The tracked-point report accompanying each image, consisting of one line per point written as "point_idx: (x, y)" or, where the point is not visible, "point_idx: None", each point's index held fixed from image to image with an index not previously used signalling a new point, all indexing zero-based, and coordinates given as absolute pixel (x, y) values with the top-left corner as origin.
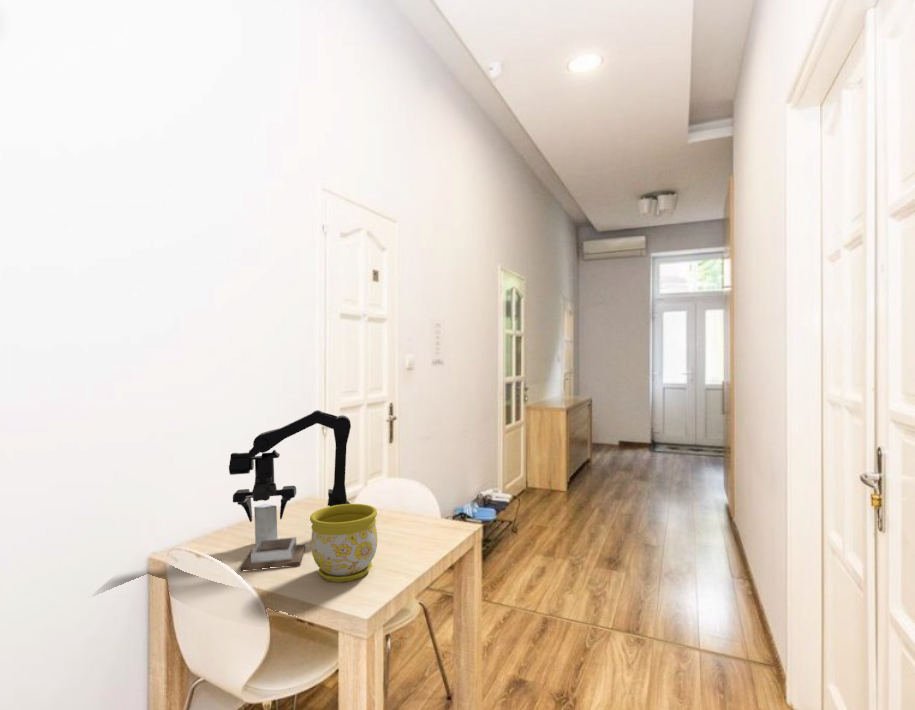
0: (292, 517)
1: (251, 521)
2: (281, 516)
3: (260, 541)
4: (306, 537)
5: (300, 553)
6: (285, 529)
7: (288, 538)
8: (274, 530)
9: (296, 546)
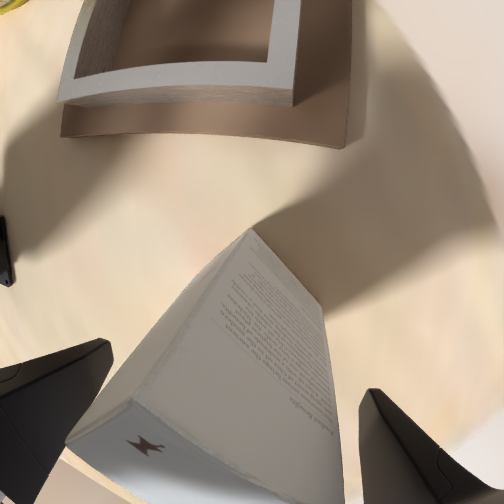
0: None
1: (368, 390)
2: (83, 346)
3: (274, 62)
4: (82, 286)
5: None
6: None
7: (89, 82)
8: (183, 292)
9: (90, 112)
